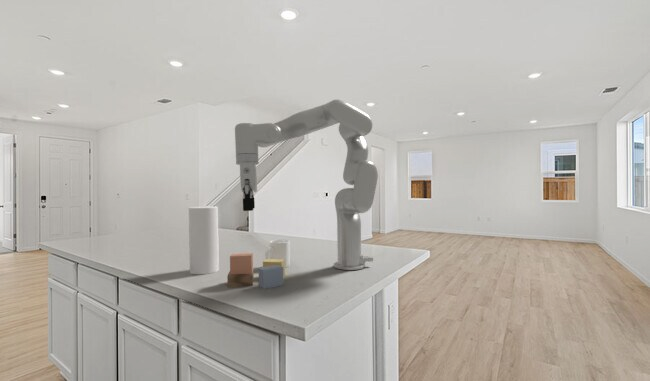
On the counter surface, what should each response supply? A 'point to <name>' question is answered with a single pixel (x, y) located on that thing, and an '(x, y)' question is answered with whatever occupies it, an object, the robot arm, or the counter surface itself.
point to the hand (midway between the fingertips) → (249, 209)
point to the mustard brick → (275, 263)
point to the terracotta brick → (241, 263)
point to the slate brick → (270, 276)
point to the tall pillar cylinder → (203, 239)
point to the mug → (279, 251)
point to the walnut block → (240, 280)
